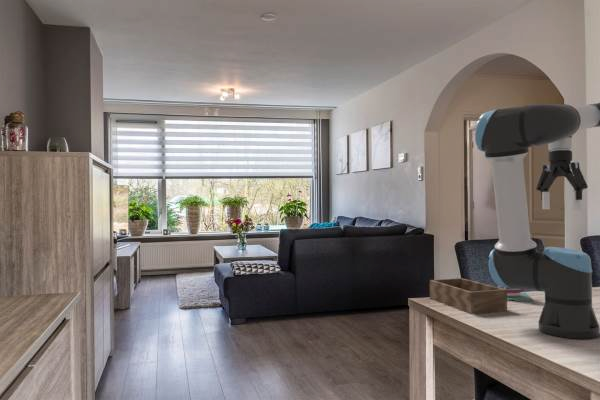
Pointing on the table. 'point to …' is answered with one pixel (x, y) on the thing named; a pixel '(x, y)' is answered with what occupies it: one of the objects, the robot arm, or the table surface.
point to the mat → (521, 297)
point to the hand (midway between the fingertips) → (560, 209)
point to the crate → (468, 295)
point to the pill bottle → (511, 291)
